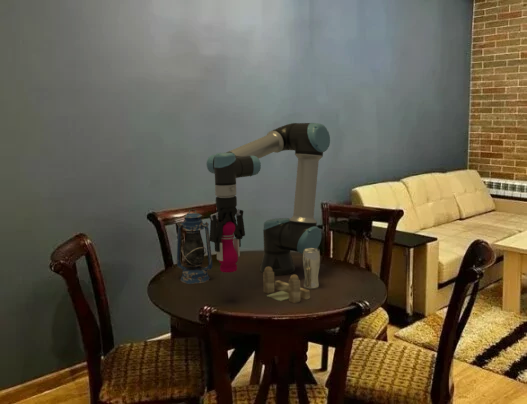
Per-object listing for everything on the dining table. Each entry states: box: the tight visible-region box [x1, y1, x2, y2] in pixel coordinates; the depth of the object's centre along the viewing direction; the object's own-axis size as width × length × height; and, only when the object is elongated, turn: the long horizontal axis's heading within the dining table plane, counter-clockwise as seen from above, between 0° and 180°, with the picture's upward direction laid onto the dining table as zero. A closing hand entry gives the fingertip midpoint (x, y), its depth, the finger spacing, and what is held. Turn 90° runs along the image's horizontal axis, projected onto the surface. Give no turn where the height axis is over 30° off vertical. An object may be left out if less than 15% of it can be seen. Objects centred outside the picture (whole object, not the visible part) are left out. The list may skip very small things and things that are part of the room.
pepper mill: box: [218, 221, 239, 273], centre depth 200 cm, size 7×7×20 cm
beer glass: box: [301, 248, 321, 290], centre depth 219 cm, size 7×7×15 cm
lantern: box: [176, 208, 213, 285], centre depth 229 cm, size 15×12×30 cm
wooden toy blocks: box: [262, 266, 311, 304], centre depth 208 cm, size 18×10×10 cm, turn 40°
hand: (228, 257), depth 201 cm, fingers closed on pepper mill, 7 cm apart
